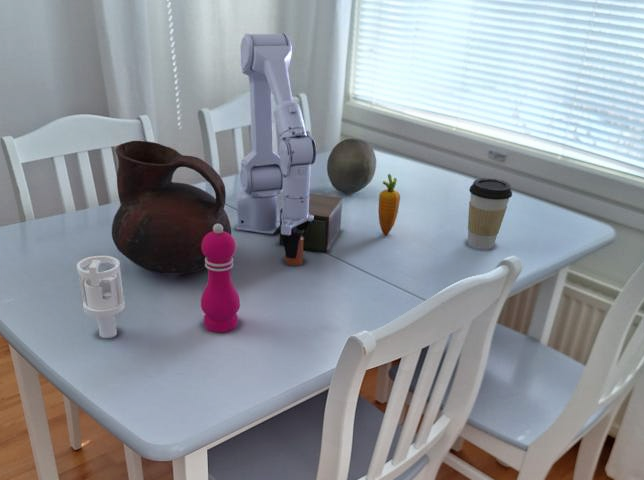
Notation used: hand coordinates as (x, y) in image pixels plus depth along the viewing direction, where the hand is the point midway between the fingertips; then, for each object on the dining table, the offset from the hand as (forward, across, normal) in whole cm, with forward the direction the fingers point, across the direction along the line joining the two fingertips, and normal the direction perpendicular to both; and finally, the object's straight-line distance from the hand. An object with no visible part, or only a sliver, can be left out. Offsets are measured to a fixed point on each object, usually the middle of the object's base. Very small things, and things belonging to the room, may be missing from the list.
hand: (294, 253), depth 149 cm
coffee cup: (+2, +26, -40) cm, 47 cm away
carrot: (+2, +22, -17) cm, 28 cm away
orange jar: (+2, 0, 0) cm, 2 cm away
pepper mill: (+2, -32, +5) cm, 32 cm away
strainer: (+2, -42, +23) cm, 47 cm away
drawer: (+1, +12, 0) cm, 12 cm away
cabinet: (+2, +14, 0) cm, 15 cm away
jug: (+2, -10, +24) cm, 26 cm away
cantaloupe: (+2, +50, -2) cm, 50 cm away
